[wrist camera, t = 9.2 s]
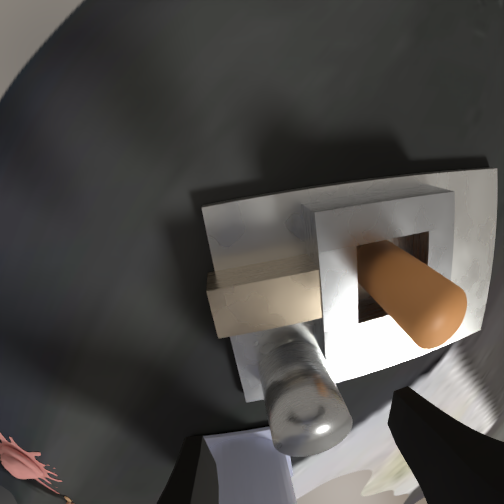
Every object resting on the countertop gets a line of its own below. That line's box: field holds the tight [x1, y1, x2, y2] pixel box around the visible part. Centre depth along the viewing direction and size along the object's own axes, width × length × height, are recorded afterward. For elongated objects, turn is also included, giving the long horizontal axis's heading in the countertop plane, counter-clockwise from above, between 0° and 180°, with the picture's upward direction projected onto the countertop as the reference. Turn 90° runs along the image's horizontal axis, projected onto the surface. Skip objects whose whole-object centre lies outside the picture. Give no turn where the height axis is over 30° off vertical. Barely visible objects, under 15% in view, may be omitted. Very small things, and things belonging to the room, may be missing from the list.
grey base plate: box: [202, 167, 497, 457], centre depth 16 cm, size 14×21×7 cm, turn 99°
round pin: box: [357, 240, 467, 349], centre depth 15 cm, size 3×3×7 cm
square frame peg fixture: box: [206, 185, 455, 360], centre depth 17 cm, size 9×14×2 cm, turn 99°
